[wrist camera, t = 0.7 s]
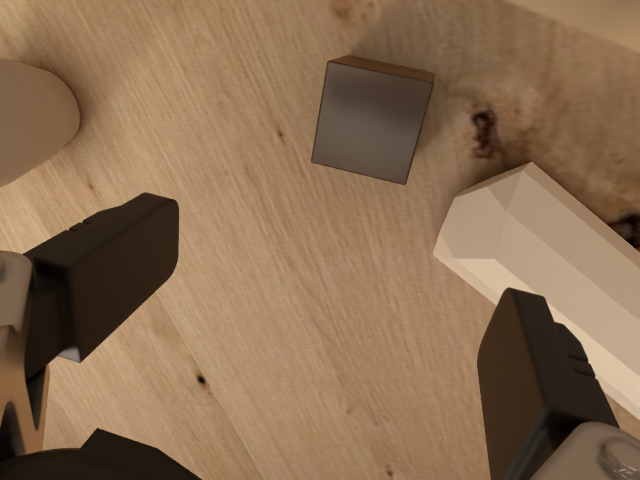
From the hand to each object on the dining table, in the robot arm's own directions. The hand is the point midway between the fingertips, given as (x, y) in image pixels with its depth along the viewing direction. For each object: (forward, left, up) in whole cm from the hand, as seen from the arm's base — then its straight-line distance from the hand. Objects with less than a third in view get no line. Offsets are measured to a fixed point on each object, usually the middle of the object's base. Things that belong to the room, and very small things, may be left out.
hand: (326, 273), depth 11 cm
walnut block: (-1, -1, -18) cm, 18 cm away
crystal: (+8, +15, -18) cm, 24 cm away
